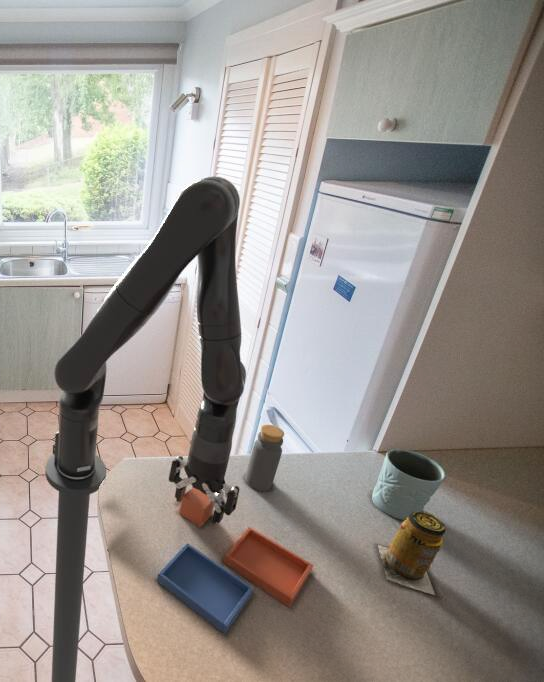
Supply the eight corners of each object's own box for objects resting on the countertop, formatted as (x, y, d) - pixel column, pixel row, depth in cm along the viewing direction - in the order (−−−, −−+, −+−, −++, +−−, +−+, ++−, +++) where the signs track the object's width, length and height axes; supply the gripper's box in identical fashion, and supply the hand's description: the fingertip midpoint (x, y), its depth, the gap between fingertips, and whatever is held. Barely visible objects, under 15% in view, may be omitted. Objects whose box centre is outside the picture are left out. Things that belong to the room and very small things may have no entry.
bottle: (246, 488, 105) (260, 436, 99) (243, 471, 111) (256, 421, 104) (273, 493, 104) (290, 440, 98) (269, 476, 109) (284, 425, 103)
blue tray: (156, 581, 84) (158, 573, 83) (185, 549, 90) (187, 542, 89) (224, 634, 75) (227, 626, 74) (251, 595, 81) (254, 588, 80)
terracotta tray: (223, 562, 88) (225, 555, 87) (246, 533, 94) (248, 526, 93) (289, 607, 79) (292, 599, 79) (310, 572, 86) (313, 565, 85)
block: (179, 513, 99) (182, 496, 96) (191, 501, 102) (194, 484, 99) (200, 527, 95) (204, 509, 93) (212, 514, 98) (216, 497, 96)
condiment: (421, 559, 88) (446, 514, 83) (434, 595, 81) (462, 549, 76) (377, 545, 91) (397, 501, 86) (385, 580, 84) (409, 534, 79)
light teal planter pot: (391, 486, 106) (409, 445, 101) (436, 518, 97) (459, 475, 92) (357, 494, 104) (374, 453, 99) (400, 529, 95) (421, 485, 90)
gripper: (253, 459, 88) (237, 520, 95) (187, 427, 98) (177, 484, 105) (235, 477, 84) (220, 540, 91) (168, 441, 93) (158, 501, 100)
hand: (197, 510), depth 98 cm, fingers open, 8 cm apart
